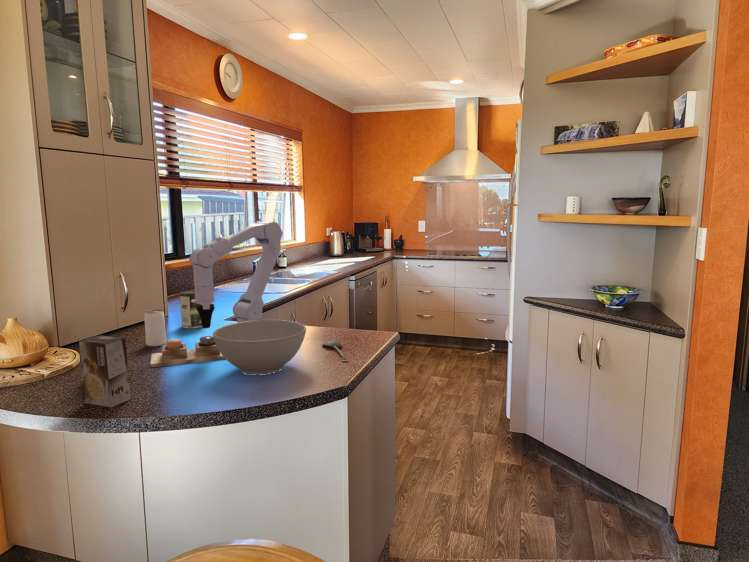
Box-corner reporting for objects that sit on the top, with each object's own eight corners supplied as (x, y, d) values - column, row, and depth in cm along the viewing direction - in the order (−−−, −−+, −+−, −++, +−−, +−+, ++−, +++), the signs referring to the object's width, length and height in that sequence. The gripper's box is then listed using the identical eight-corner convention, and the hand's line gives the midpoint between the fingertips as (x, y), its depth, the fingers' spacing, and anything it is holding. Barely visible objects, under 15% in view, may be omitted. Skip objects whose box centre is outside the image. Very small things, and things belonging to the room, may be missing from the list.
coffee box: (132, 399, 131) (127, 337, 129) (111, 408, 125) (105, 343, 123) (105, 394, 134) (99, 334, 132) (83, 403, 129) (77, 340, 126)
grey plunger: (213, 344, 171) (213, 335, 171) (215, 347, 167) (214, 338, 167) (199, 345, 169) (199, 336, 169) (200, 349, 165) (200, 340, 165)
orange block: (181, 347, 167) (181, 338, 167) (182, 351, 163) (181, 341, 163) (167, 349, 166) (166, 339, 165) (167, 352, 162) (166, 343, 161)
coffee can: (211, 322, 216) (209, 289, 214) (203, 328, 206) (201, 293, 204) (187, 322, 216) (185, 289, 214) (177, 328, 206) (175, 293, 204)
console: (228, 348, 177) (227, 337, 176) (232, 358, 166) (231, 345, 165) (151, 356, 168) (151, 344, 168) (150, 367, 157) (149, 354, 156)
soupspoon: (339, 346, 183) (321, 348, 181) (338, 337, 182) (320, 339, 180) (354, 361, 162) (334, 364, 160) (354, 351, 161) (333, 354, 160)
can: (159, 347, 179) (156, 313, 178) (142, 346, 181) (139, 312, 179) (170, 342, 186) (167, 309, 184) (153, 341, 187) (151, 308, 185)
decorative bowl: (210, 362, 161) (208, 324, 160) (294, 352, 172) (293, 316, 170) (221, 390, 137) (218, 345, 135) (318, 376, 147) (317, 334, 146)
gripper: (189, 283, 171) (192, 323, 173) (191, 290, 157) (194, 333, 159) (212, 282, 173) (214, 321, 175) (215, 288, 160) (218, 331, 162)
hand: (206, 327), depth 167 cm, fingers closed
